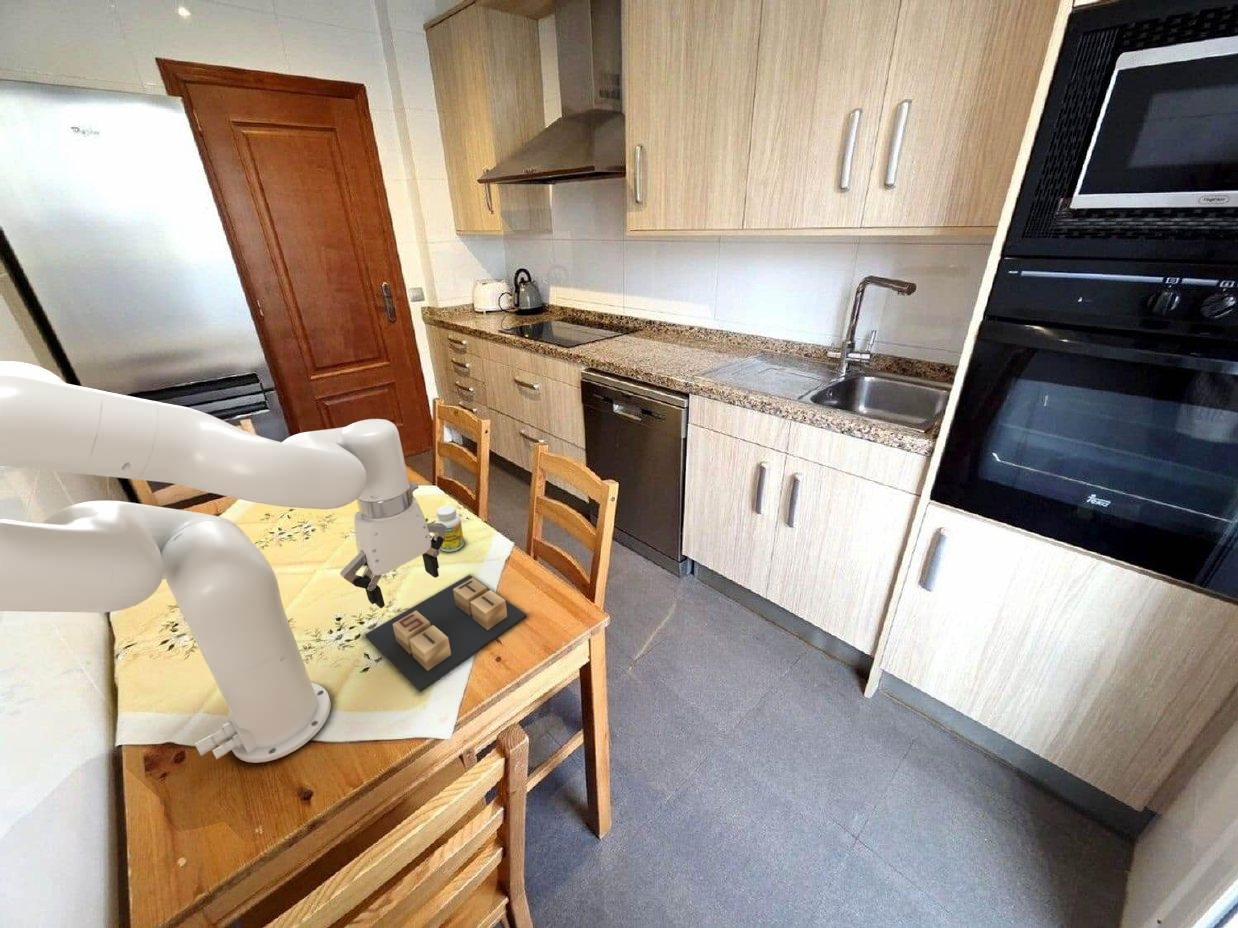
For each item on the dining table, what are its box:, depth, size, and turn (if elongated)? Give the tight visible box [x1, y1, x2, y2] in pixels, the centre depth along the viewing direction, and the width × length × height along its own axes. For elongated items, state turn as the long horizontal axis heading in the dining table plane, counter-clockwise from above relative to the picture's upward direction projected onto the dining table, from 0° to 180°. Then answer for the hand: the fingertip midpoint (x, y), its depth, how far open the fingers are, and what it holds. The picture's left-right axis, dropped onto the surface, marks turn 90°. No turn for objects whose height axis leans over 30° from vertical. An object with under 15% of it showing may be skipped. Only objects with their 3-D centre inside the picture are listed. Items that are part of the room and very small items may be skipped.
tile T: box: [453, 577, 488, 616], centre depth 96 cm, size 4×4×4 cm
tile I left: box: [409, 625, 451, 671], centre depth 84 cm, size 4×4×4 cm
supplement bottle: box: [434, 505, 465, 553], centre depth 113 cm, size 5×5×10 cm
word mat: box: [365, 574, 528, 693], centre depth 92 cm, size 22×18×1 cm
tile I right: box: [470, 589, 507, 630], centre depth 93 cm, size 4×4×4 cm
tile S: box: [393, 611, 431, 654], centre depth 88 cm, size 4×4×4 cm
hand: (406, 588), depth 84 cm, fingers open, 9 cm apart
